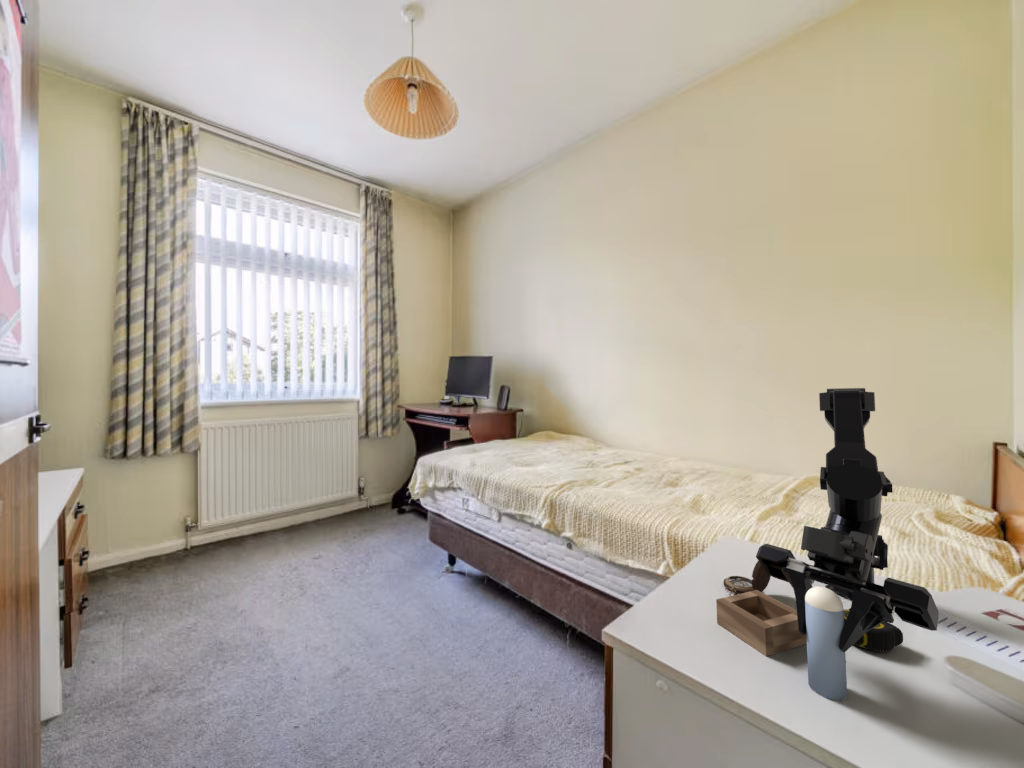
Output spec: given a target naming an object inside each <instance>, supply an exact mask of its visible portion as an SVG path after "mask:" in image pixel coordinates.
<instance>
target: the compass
mask: <svg viewBox="0 0 1024 768" xmlns="http://www.w3.org/2000/svg"><path fill="white" fill-rule="evenodd" d="M771 577H772V576H770V575H769V574H768V573H767V572H766V571H765V569H764V568H763V566H762V565H761V563H760V562H759V561H758V560H757V562H756V563H755V565H754V568H753V570H752V574H751V579H750V578H748V577H745V576H741V575H730V576H728V577H726V578H724V580H723V586H724V591H725V592H727V593H731V594H736V595H737V594H741V593H746V592H750V591H754V590H758V591H760V592H762V593H763V591H764V590H766V588H767V587H768V585H769V583H770V581H771Z"/></svg>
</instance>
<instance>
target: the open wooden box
mask: <svg viewBox="0 0 1024 768" xmlns="http://www.w3.org/2000/svg"><path fill="white" fill-rule="evenodd" d="M716 624H717V625H719V626H720V627H722V628H723V629H724V630H725V631H727V632H729V633H731V634H732V635H734V636H735V637H737V638H739V640H741V641H743V642H745V643H746V644H747V645H749V646H750V647H752V648H753V649H755V650H756V651H757V652H759V653H760V654H762V655H764V656H765V657H768V656H771V655H774V654H778V653H781V652H784V651H787V650H791V649H794V648H798V647H800V646H804V645H807V637H806V633H805V635H802V634H801V633H800V632H799V628H798V618H797V609H795V608H793V607H792V606H789V605H788V604H785V603H783V602H781V601H779V600H777V599H775V598H774V597H772V596H770V595H768V594H766V593H764V592H763V591H762V592H760V591H758V590H754V591H750V592H746V593H741V594H737V593H736V594H734V595H729V596H724V597H721V598H716Z"/></svg>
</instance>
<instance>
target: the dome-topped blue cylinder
mask: <svg viewBox="0 0 1024 768" xmlns="http://www.w3.org/2000/svg"><path fill="white" fill-rule="evenodd" d="M812 587H813V588H811V589H809V590H808V591H807V593H806V595H805V612H806V637H807V644H806V656H807V682H808V683H807V684H808V686H809V687H810V689H811V690H812V691H813V692H814V693H816V694H817V695H820V696H822V697H823V698H826V699H828V700H833V701H844V700H846V699H847V697H848V686H847V685H848V684H847V681H848V680H847V662H846V661H847V660H846V658H847V657H846V655H847V654H846V652H842V651H841V650H840V649H839V642H840V637H841V633H842V630H843V628H844V610H845V609H844V603H843V602H842V599H841V598H840V596H839V594H837V593H835V592H833V591H832V590H830V589H828V588H825V586H817V585H816V586H812Z"/></svg>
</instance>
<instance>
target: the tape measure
mask: <svg viewBox="0 0 1024 768" xmlns="http://www.w3.org/2000/svg"><path fill="white" fill-rule="evenodd" d="M849 611H850V608H848V609H844V625H845V622H846V619H847V617H848V614H849ZM903 642H904V634H903V632H902V630H901V629H900V628H899V627H897V626H895V625H894V624H893V623H889V622H885V621H883V622H882V623H880V624H879V625H877V626H875V627H874V628H872V629H871V630H869V631H868V632H866V633H865V634H864V635H863V636H862V637H861V638H860V639H859V640H858V641H857V642H855V643H854V644H853V645H856V646H859V647H861V648H863V649H866V650H871V651H876V652H883V653H885V652H890V651H892V650H893V649H894V648H895V647H898V646H900V645H902V644H903Z"/></svg>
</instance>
